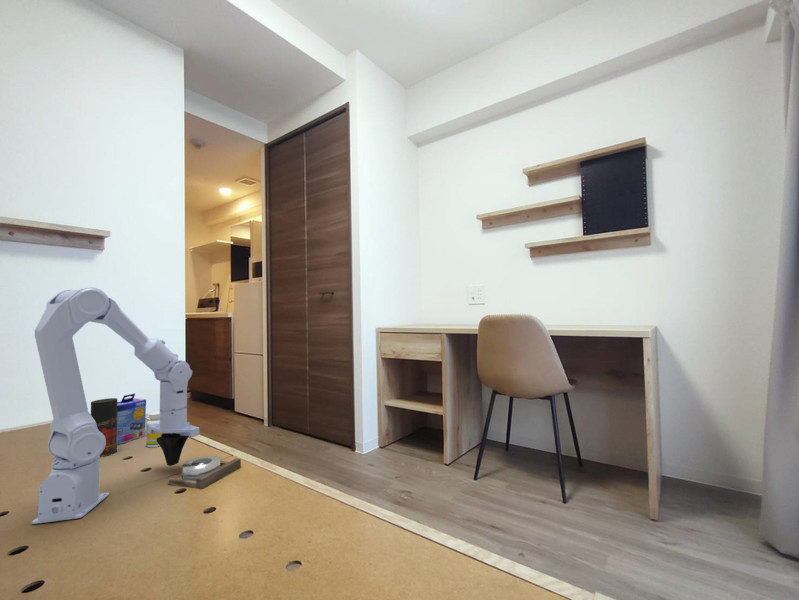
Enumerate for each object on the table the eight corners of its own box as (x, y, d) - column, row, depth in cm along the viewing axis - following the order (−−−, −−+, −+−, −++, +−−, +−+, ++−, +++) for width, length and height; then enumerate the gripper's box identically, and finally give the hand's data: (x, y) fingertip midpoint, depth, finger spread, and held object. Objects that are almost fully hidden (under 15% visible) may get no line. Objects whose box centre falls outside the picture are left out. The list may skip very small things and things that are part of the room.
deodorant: (85, 458, 99) (86, 403, 100) (96, 451, 105) (97, 399, 105) (110, 456, 100) (111, 401, 101) (120, 449, 106) (121, 397, 107)
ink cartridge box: (115, 446, 109) (116, 397, 109) (102, 445, 110) (103, 397, 111) (146, 436, 118) (147, 391, 119) (134, 435, 120) (134, 390, 121)
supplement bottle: (145, 444, 110) (145, 412, 110) (166, 440, 113) (166, 409, 113) (146, 449, 105) (147, 416, 106) (168, 444, 109) (168, 412, 109)
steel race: (215, 479, 84) (215, 466, 84) (177, 484, 82) (177, 470, 82) (223, 466, 92) (223, 454, 92) (189, 470, 90) (189, 457, 90)
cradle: (240, 467, 90) (240, 458, 90) (201, 488, 79) (201, 479, 79) (210, 463, 93) (210, 455, 93) (168, 484, 82) (168, 475, 82)
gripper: (209, 406, 91) (209, 460, 91) (166, 403, 96) (165, 455, 95) (185, 413, 85) (184, 472, 84) (139, 410, 89) (139, 466, 88)
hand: (172, 464), depth 89 cm, fingers closed
